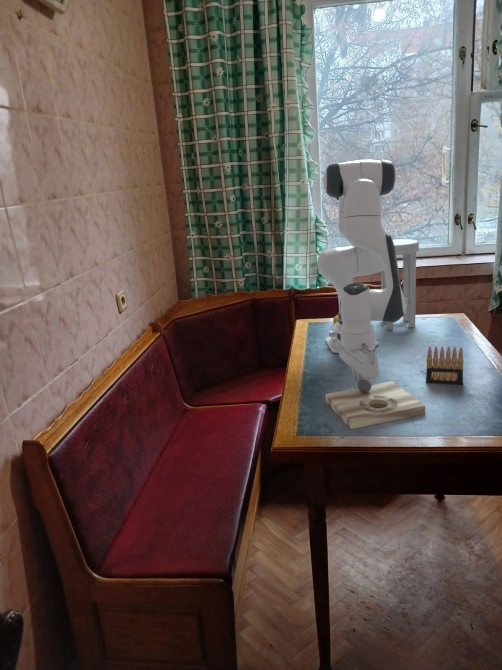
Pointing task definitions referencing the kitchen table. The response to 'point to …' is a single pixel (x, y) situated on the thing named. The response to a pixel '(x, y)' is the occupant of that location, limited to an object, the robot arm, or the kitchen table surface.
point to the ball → (364, 385)
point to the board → (374, 405)
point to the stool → (406, 277)
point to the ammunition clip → (445, 367)
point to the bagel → (335, 319)
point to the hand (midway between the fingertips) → (358, 382)
